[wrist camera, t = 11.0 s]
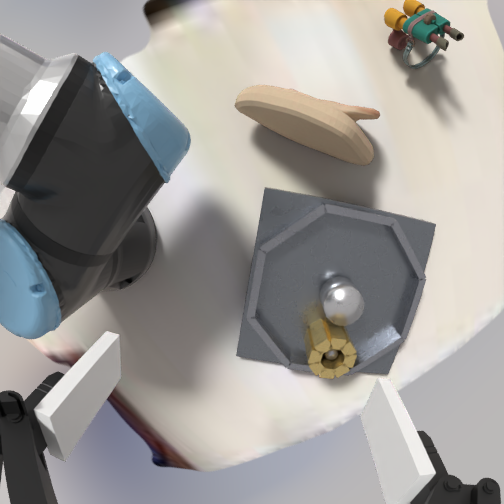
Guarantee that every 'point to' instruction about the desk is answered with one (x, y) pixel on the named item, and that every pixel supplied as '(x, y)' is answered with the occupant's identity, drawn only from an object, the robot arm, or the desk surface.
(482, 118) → the desk surface
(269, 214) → the tray
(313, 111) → the brown rounded piece
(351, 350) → the planet gear
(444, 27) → the binoculars
